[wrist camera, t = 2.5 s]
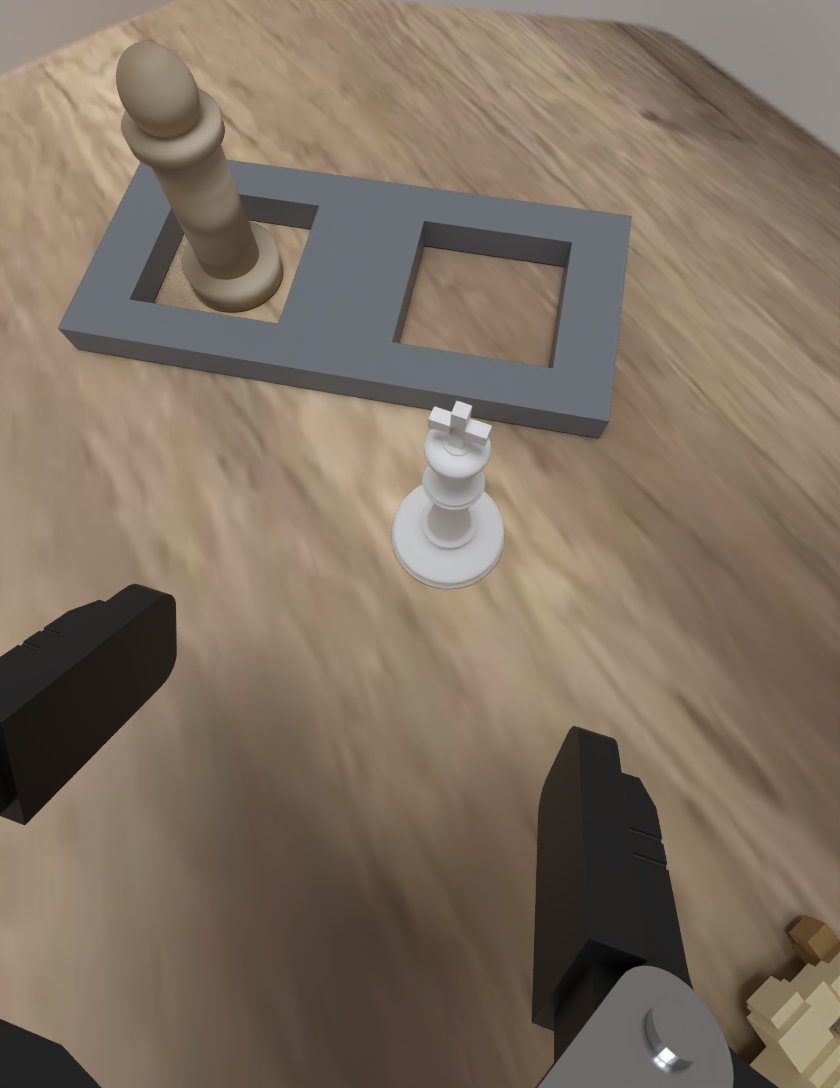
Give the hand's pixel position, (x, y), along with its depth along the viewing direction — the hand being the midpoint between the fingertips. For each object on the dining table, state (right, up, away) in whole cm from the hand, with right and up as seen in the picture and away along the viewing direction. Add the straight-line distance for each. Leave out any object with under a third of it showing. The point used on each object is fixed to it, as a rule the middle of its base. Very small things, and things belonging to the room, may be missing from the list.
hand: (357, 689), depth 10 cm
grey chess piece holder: (-2, +16, +17) cm, 23 cm away
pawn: (-8, +17, +18) cm, 26 cm away
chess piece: (+2, +3, +13) cm, 14 cm away
